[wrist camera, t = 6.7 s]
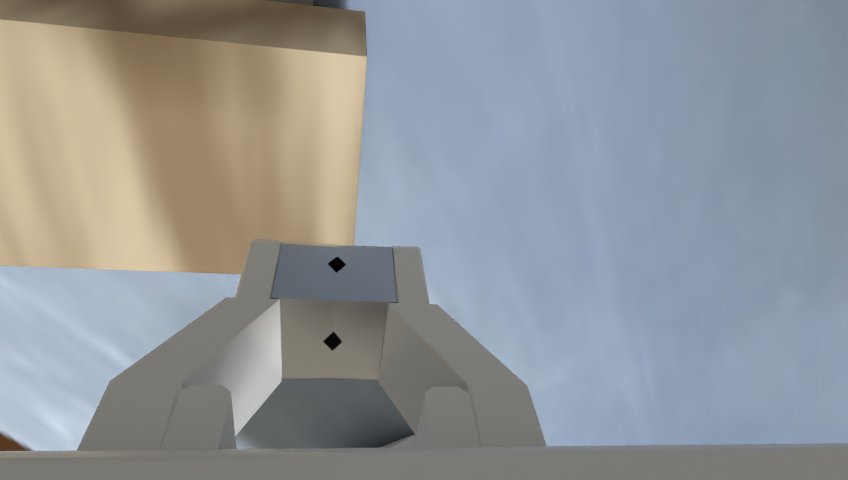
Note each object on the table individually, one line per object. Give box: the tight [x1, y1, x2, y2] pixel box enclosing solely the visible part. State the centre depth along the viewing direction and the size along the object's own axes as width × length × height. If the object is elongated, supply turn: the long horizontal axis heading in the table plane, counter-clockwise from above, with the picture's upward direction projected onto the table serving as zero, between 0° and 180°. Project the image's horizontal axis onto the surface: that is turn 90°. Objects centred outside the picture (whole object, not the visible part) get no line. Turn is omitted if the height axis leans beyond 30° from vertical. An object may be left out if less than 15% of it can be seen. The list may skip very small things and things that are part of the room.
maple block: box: [0, 0, 367, 274], centre depth 14 cm, size 4×6×10 cm
